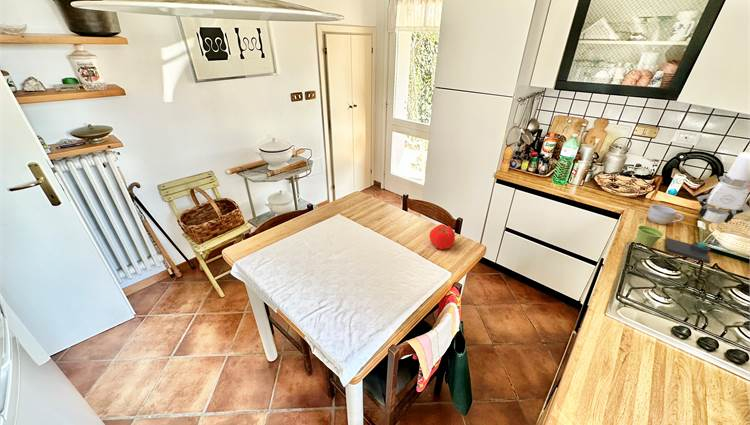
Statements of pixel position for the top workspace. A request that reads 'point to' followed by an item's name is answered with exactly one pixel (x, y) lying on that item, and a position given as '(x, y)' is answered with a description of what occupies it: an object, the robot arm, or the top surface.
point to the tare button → (702, 245)
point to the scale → (687, 250)
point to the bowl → (715, 215)
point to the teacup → (662, 214)
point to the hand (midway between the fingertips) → (713, 218)
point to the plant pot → (648, 235)
